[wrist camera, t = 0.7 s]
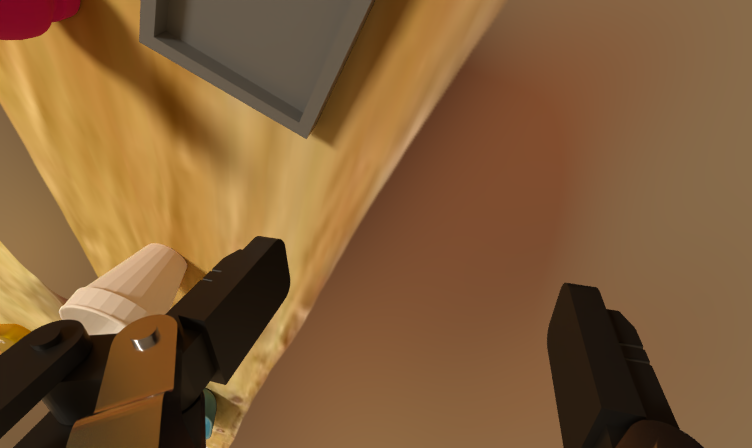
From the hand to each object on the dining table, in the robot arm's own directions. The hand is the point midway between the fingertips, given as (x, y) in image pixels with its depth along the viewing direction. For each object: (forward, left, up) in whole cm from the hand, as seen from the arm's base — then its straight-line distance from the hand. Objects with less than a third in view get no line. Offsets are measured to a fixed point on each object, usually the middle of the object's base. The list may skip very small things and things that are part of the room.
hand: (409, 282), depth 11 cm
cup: (-18, -51, -25) cm, 60 cm away
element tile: (-52, -128, -25) cm, 141 cm away
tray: (-14, -6, -24) cm, 29 cm away
